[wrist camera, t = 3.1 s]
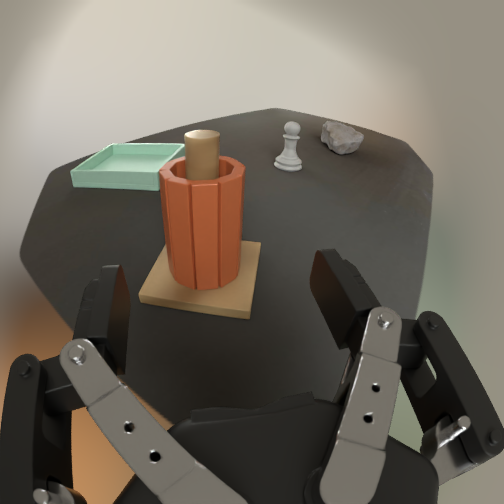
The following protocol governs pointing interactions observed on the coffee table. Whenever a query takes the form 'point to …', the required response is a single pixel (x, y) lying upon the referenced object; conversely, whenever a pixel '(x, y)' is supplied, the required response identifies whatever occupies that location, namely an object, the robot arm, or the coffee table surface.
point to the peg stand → (203, 301)
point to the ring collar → (203, 223)
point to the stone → (340, 137)
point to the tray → (126, 166)
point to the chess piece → (289, 149)
